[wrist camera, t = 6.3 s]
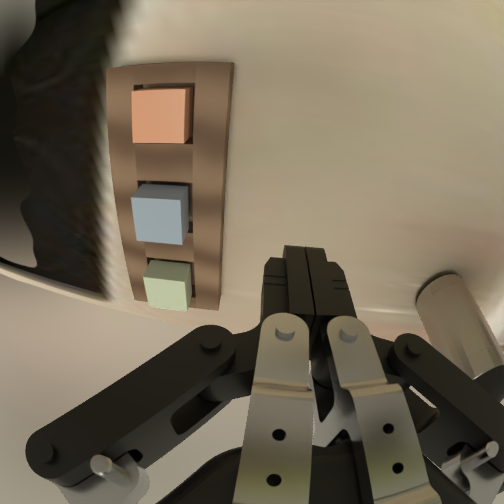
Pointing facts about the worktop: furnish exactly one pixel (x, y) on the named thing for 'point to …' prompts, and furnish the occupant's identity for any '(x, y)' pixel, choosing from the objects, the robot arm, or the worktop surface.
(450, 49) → the worktop surface
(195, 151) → the button panel
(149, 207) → the slate blue button
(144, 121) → the terracotta button
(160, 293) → the sage green button
